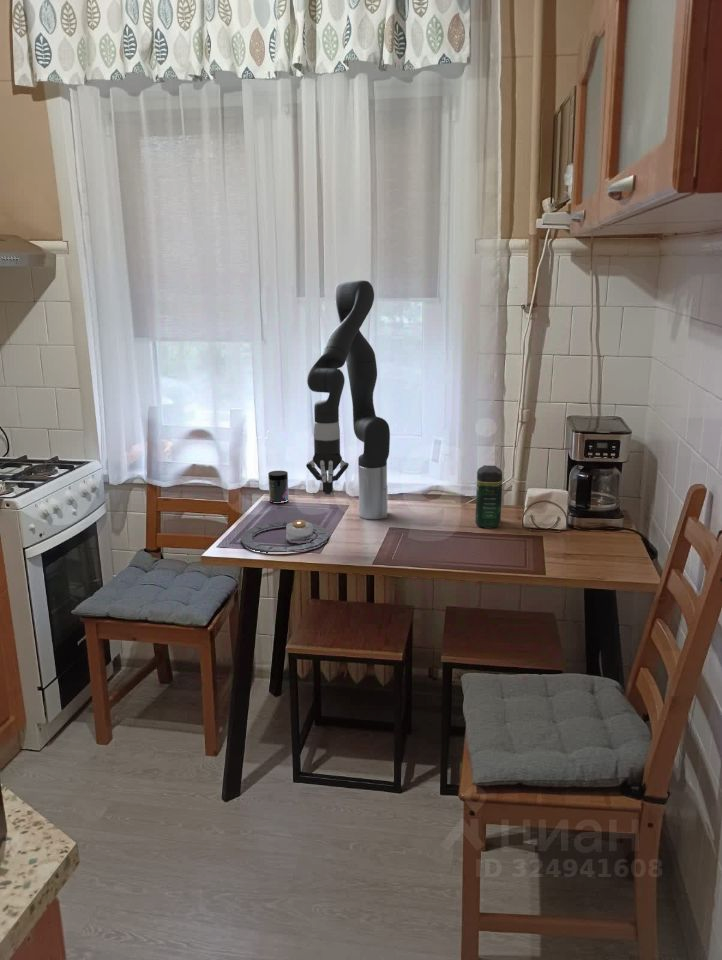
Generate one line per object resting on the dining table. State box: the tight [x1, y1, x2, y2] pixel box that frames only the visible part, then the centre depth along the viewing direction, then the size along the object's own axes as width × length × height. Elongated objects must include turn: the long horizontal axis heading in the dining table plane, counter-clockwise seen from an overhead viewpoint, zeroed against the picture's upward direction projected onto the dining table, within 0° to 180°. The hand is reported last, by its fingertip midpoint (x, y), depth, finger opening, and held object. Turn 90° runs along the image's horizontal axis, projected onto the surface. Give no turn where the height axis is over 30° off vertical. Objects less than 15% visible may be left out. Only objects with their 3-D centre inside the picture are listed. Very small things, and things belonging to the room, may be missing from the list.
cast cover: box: [285, 519, 314, 541], centre depth 238 cm, size 8×8×6 cm
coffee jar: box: [475, 464, 503, 529], centre depth 247 cm, size 10×8×19 cm
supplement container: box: [267, 470, 289, 502], centre depth 275 cm, size 7×7×10 cm
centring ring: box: [240, 521, 330, 553], centre depth 239 cm, size 26×26×1 cm
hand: (327, 493), depth 234 cm, fingers closed
